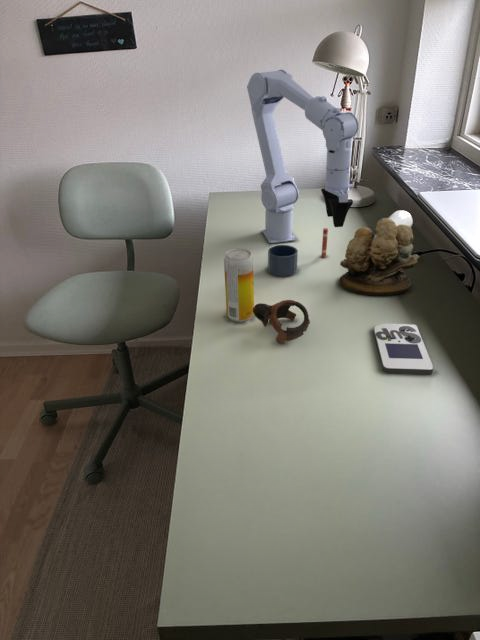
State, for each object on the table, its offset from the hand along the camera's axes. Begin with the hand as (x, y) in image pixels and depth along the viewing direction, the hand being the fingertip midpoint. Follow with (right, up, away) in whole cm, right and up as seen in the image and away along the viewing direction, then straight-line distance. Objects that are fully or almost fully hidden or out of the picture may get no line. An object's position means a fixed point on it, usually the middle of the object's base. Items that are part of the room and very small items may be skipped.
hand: (334, 221), depth 125 cm
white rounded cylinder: (+14, -4, +7) cm, 17 cm away
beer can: (-24, -25, -17) cm, 39 cm away
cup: (-13, -13, +1) cm, 18 cm away
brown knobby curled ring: (-16, -28, -23) cm, 39 cm away
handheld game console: (+7, -31, -30) cm, 44 cm away
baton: (-2, -8, +7) cm, 11 cm away
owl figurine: (+9, -17, -7) cm, 20 cm away
